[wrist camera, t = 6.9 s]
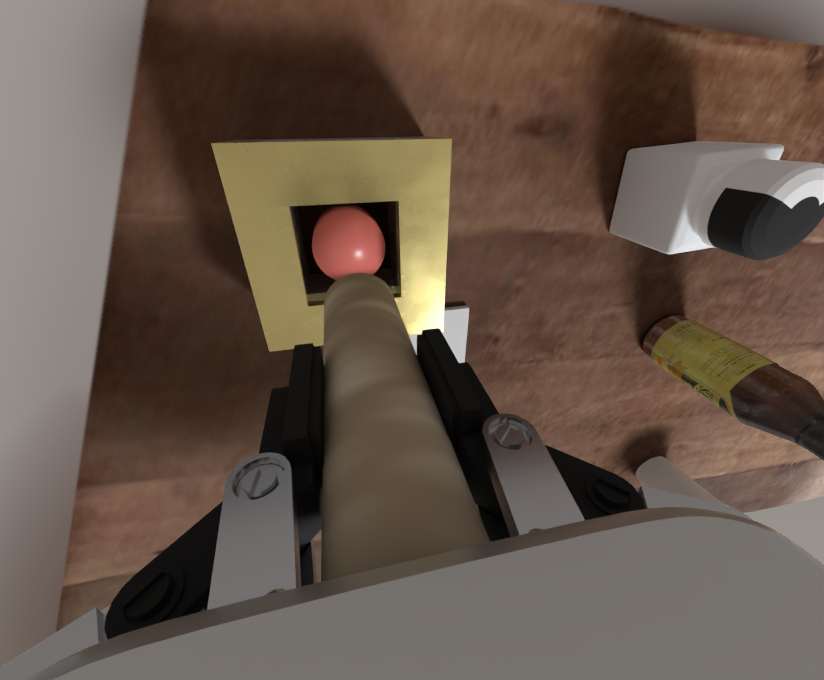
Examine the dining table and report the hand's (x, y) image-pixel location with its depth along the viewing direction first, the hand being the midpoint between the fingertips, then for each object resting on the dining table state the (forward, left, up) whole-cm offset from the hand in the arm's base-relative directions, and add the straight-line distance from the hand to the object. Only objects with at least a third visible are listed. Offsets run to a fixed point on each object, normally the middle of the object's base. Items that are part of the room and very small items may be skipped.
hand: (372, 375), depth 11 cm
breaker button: (0, 0, -17) cm, 17 cm away
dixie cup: (-47, +43, -20) cm, 67 cm away
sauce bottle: (-37, +15, -20) cm, 45 cm away
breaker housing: (0, 0, -20) cm, 20 cm away
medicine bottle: (-28, -2, -20) cm, 34 cm away
